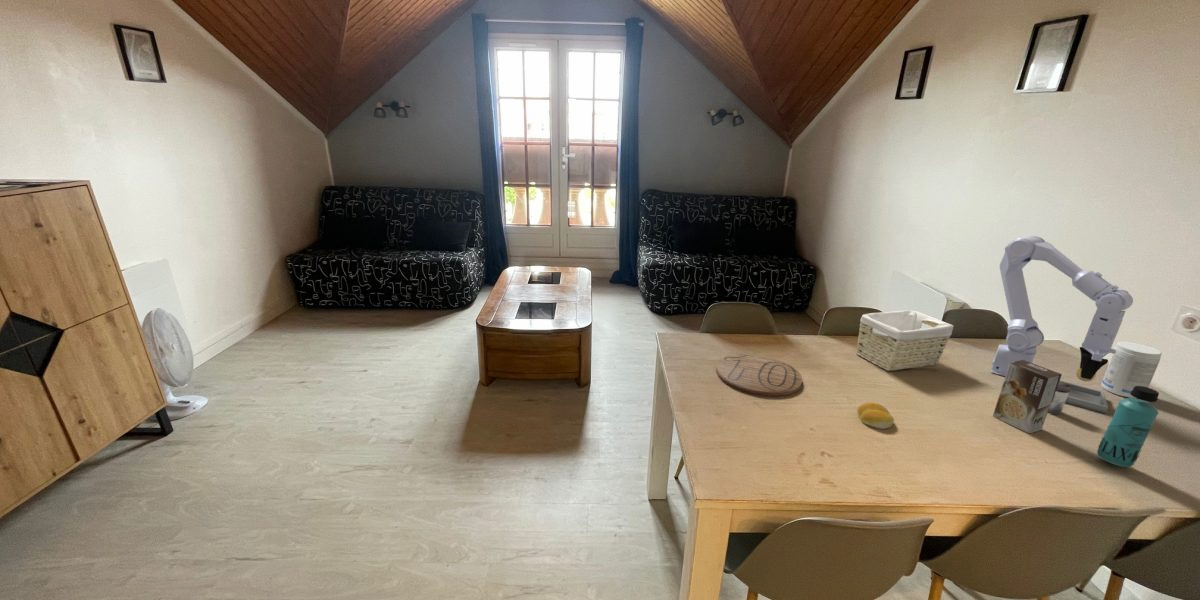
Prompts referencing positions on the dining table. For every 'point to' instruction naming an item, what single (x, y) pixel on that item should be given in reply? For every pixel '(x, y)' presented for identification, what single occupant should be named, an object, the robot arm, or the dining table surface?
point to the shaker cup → (1059, 398)
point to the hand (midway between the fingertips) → (1085, 375)
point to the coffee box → (1026, 395)
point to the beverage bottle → (1129, 427)
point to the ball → (1083, 378)
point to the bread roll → (875, 415)
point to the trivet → (759, 375)
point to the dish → (1087, 398)
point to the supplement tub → (1130, 368)
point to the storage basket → (902, 339)
